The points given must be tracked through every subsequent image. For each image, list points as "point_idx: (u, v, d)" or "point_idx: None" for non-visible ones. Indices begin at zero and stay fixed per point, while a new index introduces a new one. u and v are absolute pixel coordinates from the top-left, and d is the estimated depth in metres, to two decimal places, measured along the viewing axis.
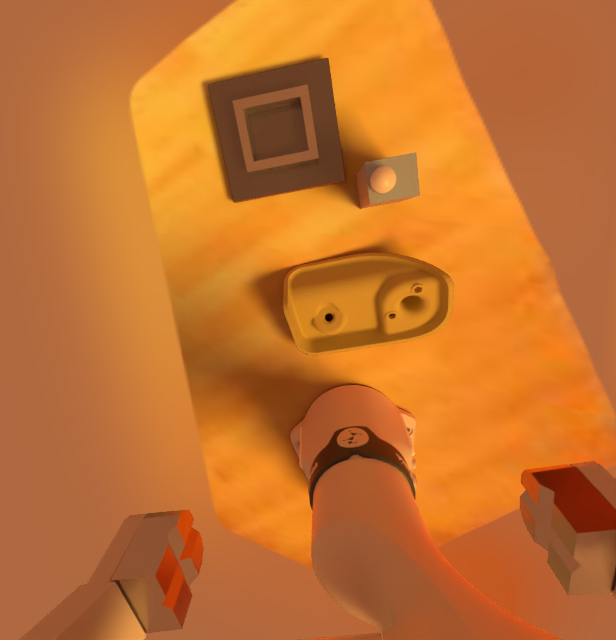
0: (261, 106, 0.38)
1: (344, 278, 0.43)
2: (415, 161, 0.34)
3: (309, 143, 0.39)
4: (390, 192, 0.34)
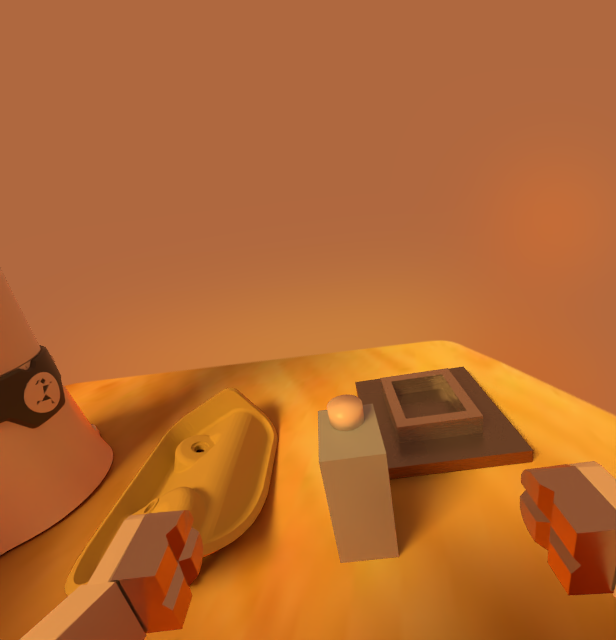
0: (449, 388, 0.35)
1: (238, 458, 0.31)
2: (372, 453, 0.20)
3: (414, 419, 0.31)
4: (329, 428, 0.23)
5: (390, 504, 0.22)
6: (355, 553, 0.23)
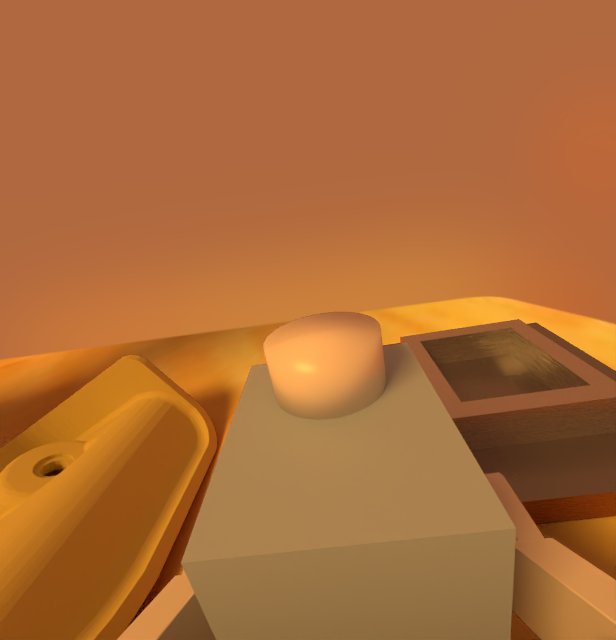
0: (530, 349, 0.19)
1: (102, 496, 0.14)
2: (440, 526, 0.04)
3: (479, 402, 0.15)
4: (270, 412, 0.07)
5: None
6: None
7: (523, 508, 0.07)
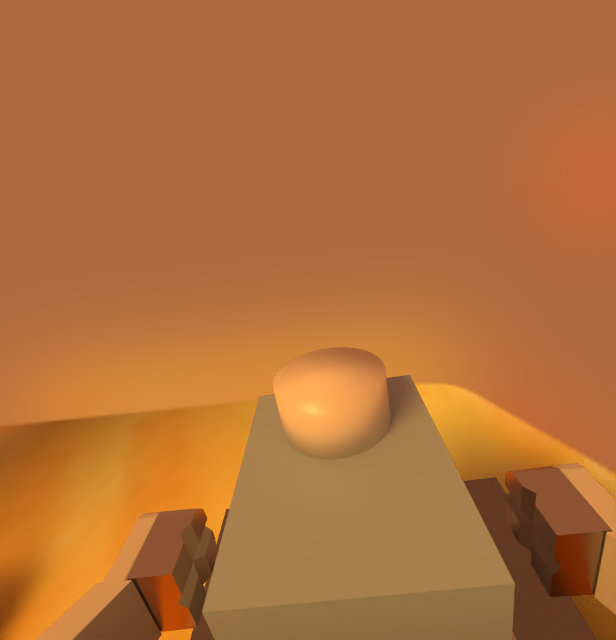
0: None
1: None
2: (444, 579, 0.04)
3: None
4: (280, 449, 0.07)
5: None
6: None
7: (611, 498, 0.07)
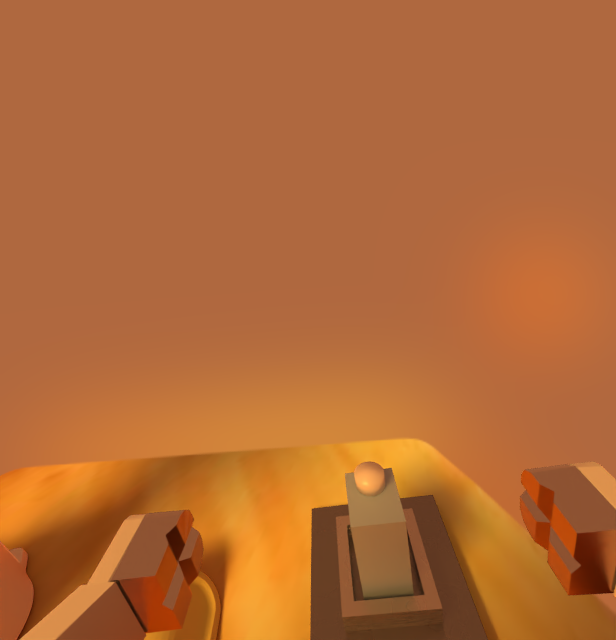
0: (410, 543, 0.31)
1: None
2: (394, 521, 0.25)
3: (362, 603, 0.27)
4: (356, 493, 0.27)
5: (408, 559, 0.26)
6: (377, 597, 0.28)
7: None
